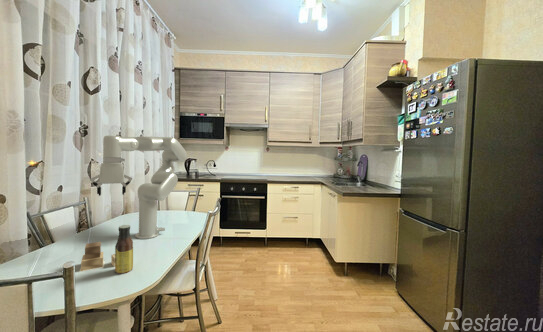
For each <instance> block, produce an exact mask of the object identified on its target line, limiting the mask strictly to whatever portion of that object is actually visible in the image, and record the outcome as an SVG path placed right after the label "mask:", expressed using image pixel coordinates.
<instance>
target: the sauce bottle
mask: <svg viewBox="0 0 543 332" xmlns="http://www.w3.org/2000/svg"><path fill="white" fill-rule="evenodd" d="M130 231H131V225H130V224H122V225H119V226H118V238H117V242H116V243H115V246H114V247H115V248H114V250H115V251H114V254H115V267H114V272H115V274H118V275H122V274H123V275H125V274H127V273H130V272H131V271H133V268H134V242H133V239H132V237H131V233H130Z"/></svg>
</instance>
